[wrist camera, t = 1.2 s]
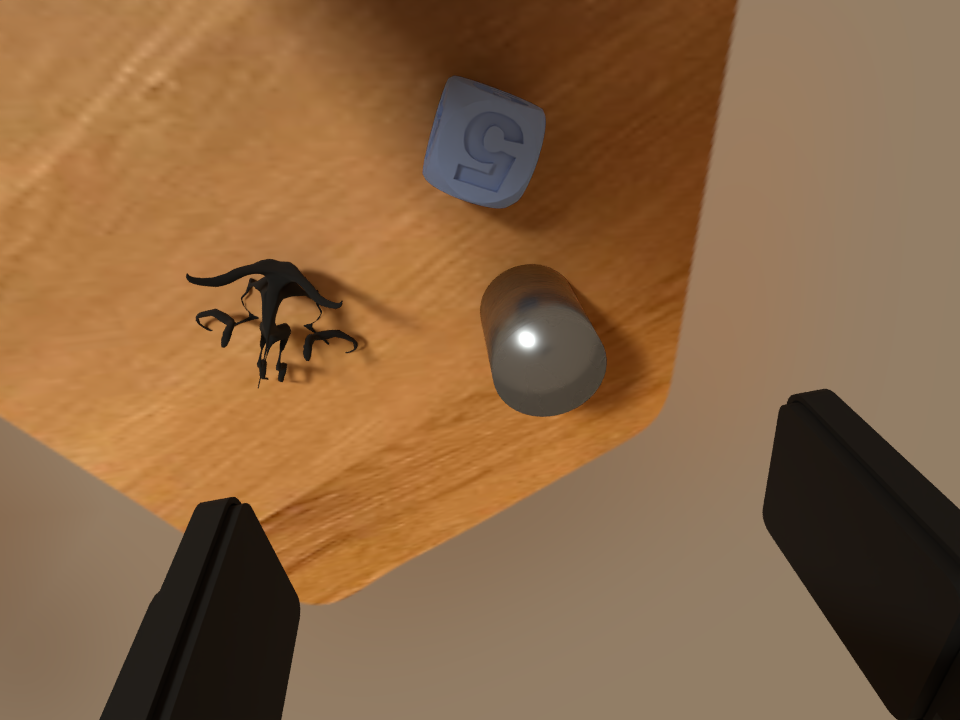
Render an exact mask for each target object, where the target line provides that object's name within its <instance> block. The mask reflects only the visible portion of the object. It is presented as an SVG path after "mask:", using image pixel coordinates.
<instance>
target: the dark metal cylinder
mask: <svg viewBox="0 0 960 720" xmlns="http://www.w3.org/2000/svg"><path fill="white" fill-rule="evenodd" d="M480 317H481V322H482V327H483V332H484V337H485V342H486V347H487V352H488V357H489V362H490V367H491V372H492V377H493V382H494V385H495V388H496V390H497V392H498V394H499V396H500V397H501V399H502V400H503V401H504V402H505V403H506V404H507V405H509V406H510V407H511V408H513V409H515V410H516V411H519V412H521V413H524V414H527V415H531V416H540V417H545V416H555V415H559V414H563V413H566V412H569V411H571V410H573V409H575V408H577V407H579V406H580V405H582V404H583V403H584V402H586V401H587V400H588V399H589V398H590V397H591V396H592V395H593V394H594V393H595V392H596V390H597V389H598V387H599V386H600V384H601V382H602V380H603V378H604V375H605V372H606V365H607V359H606V352H605V349H604V346H603V344H602V342H601V341H600V339H599V337H598V335H597V333H596V332H595V330H594V328H593V326H592V324H591V322H590V321H589V319H588V317H587V315H586V313H585V312H584V310H583V308H582V306H581V304H580V303H579V301H578V299H577V297H576V295H575V293H574V292H573V290H572V288H571V286H570V284H569V283H568V281H567V280H566V279H565V278H564V277H563V276H562V275H561V274H560V273H558V272H557V271H555V270H553V269H552V268H549V267H546V266H542V265H536V264H527V265H520V266H517V267H513V268H511V269H509V270H507V271H505V272H503V273H502V274H500V275H499V276H497V277H496V278H495V279H494V280H493V281H492V282H491V284H490V285H489V286H488V288H487V289H486V291H485V293H484V295H483V297H482V301H481V306H480Z"/></svg>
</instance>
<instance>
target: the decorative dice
mask: <svg viewBox="0 0 960 720" xmlns="http://www.w3.org/2000/svg"><path fill="white" fill-rule="evenodd" d="M545 125H546V119H545V114H544V112H543V109H541V108H540V107H538V106H536V105H534V104H532V103H530V102H528V101H526V100H524V99H521V98H519V97H517V96H514V95H512V94H509V93H507V92H504V91H502V90H499V89H496V88H494V87H491V86H488V85H485V84H482V83H479V82H476V81H473V80H470V79H467V78H463V77H459V76H452V77H450V78H449V79H448V80H447V82H446V85H445V87H444V90H443V93H442V96H441V99H440V102H439V105H438V109H437V112H436V116H435V119H434V123H433V126H432V130H431V134H430V138H429V142H428V146H427V150H426V155H425V160H424V165H423V175H424V177H425V179H426V180H427V181H428V182H429V183H430V184H431V185H433V186H434V187H436V188H437V189H439V190H441V191H443V192H445V193H447V194H449V195H451V196H454V197H456V198H459V199H461V200H464V201H467V202H470V203H473V204H477V205H481V206H485V207H490V208H506V207H508V206H510V205H512V204H514V203H516V202H517V201H518V200H519V199H520V198H521V196H522V195H523V193H524V191H525V190H526V188H527V186H528V184H529V182H530V179H531V177H532V175H533V172H534V170H535V167H536V164H537V161H538V158H539V155H540V151H541V147H542V143H543V139H544V133H545Z"/></svg>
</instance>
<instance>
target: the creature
mask: <svg viewBox="0 0 960 720" xmlns="http://www.w3.org/2000/svg"><path fill="white" fill-rule="evenodd" d="M250 274H262V275H264V276H265V277H263V278H262V279H260V280H259V281H256V282H254V280H253V279H252V278H250V279H249V284H248V287H247V290H246V292H245V294H244V295H243V296H242V297H241V300H242V298H243V297H244V296H245V295H246V294H247V293H248V292H249V290H250V288H251V287H253V286H254V287H255V289H257V290H259V291H260V293H261V297H262V322H261V323H260V331H261V340H260V347H261V352H260V356H259V360H258V362H257V366H258V367H259V371H260V379H266V380H268V378H265V375H266V367H267V362H266V358H267V355H268V352H269V350H270V347H271V346H272V345H273V344H274V343H275V342H277V341H279V340H280V353H279V358H278V362H277V365H276V370H278V371H279V375H278V381H280V382H283V380H284V376H285V374H286V370H287V364H286V363H284V362H283V363H280V358H281V352H282V351H283V350H284V348H285V345H286V343H287V341H288V338H289V336H290V334H291V329H290V327H289V325H288V324H287V323H283V324H280V325H277V326H276V323H275V318H276V314H277V311H278V307H279V305H280V303H281V302H282V300H283V299H285V298H288V297H292V296H307V297H308V298H310V299H312V300H314V301H315V302H316V305H317V307H318V308H319V310H320V312H321V314H322V310H321V309H320V307H319V305H321V306H324V307H328V308H334V309H337V308H340V307H341V306H342V301H341V302H340V303H335V302H331V301H329V300H327V299H325V298H324V297H322V296H321V295H320V294H319V293H318V290H316V289H315V288H314V287H313V285H312V284H311V283H310V282H309V281H308V280H307V279H306V278H305V277H304V276H303V275H302V273H301V272H300V271H299V269H298V268H297V267H296V266H295V265H293V264H292V263H291V262H280V261H277V260H273V259H266V260H261V261H259V262H256V263H254V264H251V265H247V266H243V267H239V268H236V269H234V270H232V271H230V272H228V273H226V274H223V275H220V276H217V277H213V278H195V277H191V276H189V275H188V273H187V274H186V278H187V280H188V281H189V282H191V283H193V284H196V285H201V286H211V287H219V286H224V285H227V284H230V283H232V282H234V281H236V280H238V279H240V278H242V277H244V276H247V275H250ZM297 283H298V284H299V285H300V286H301V287H302V288H303V289H304V290H305V291H304V290H303V289H302V288H301V287H300V286H299V285H298V284H297ZM242 304H243V306H244V303H243V301H242ZM244 307H245V306H244ZM245 309H246V308H245ZM246 310H247V309H246ZM247 311H248V310H247ZM248 312H249V311H248ZM321 314H320V316H321ZM207 316H213V317H215V318H217V319H218V320H219V321H221V322H222V323H224V324H226V325H227V326H226V328H225V330H224V331H223V336H222V338H221V346H222V347H223V348H225V347H226V346H227V344H228V343H229V341H230V338H231V335H232V331H233V328H234V326H236V325H238V324H240V323H243V322H246V321H250V320H253V319H258V317H256V316H254V315H253V314H251V313H250V312H249V317H248V318H247V319H245V320H243V321H240V322H237V323H236V322H235V321H234V319H233V318H231V317H230V316H229V315H228V314H226V313H224V312H222V311H220V310H218V309H212V310H208V311H203V312H200V313H199V314H197V316H196V321H197V323H198V324H199V325H200V326H201V327H203V328H205V329H206V330H209V331H213V330H210V329H208V328H206V327H204V326H203V325H202V324H200V321H199V318H202V317H207ZM320 316H319V317H318V319H319V318H320ZM318 319H317V320H318ZM317 320H316V321H317ZM313 323H314V322H313ZM313 323H311V324H306V325H303V326H304V327H306V328H308V329H309V330H311V331H312V332H314V334H309V335H308V336H307V337H306V340H305V344H304V346H303V347H304V351H303V355H304V358H305V360H306V361H309V360H310V358H311V352H312V344H313V342H314V340H324V341H325V342H326V343H327V344H328V345H329V342H328V341H327V340H326V339H329V338H333V337H338V338H343V339H346V340H348V341H351V342H353V344H354V349H353V350H352V351H350V352H353V351H354V350H356V348H357V347H358V344H357V341H356V340H355V339H354V338H352V337H350V336H349V335H347V334H345V333H344V332H342V331H340V330H327V331H321V332H316V331H315V330H314V329H313V328H312V324H313ZM265 343H266V348H265V354H264V359H265V360H264V359H262V360H261V354H262V350H263V348H264V346H265ZM267 348H268V350H267ZM266 352H267V355H266ZM350 352H346V353H350ZM265 355H266V358H265ZM260 379H259V384H260ZM259 384H258V388H259Z"/></svg>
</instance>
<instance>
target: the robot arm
mask: <svg viewBox="0 0 960 720" xmlns="http://www.w3.org/2000/svg"><path fill="white" fill-rule="evenodd" d="M763 519H764V523H765V526H766V528H767V530H768V531H769V533H770V535H771V536H772V538H773V539H774V540H775V542H776V544H777V545H778V547H779V548H780V550H781V551H782V553H783V554H784V556H785V557H786V559H787V560H788V562H789V563H790V565H791V566H792V568H793V569H794V571H795V572H796V573H797V575H798V576H799V578H800V579H801V581H802V582H803V584H804V585H805V587H806V588H807V590H808V591H809V593H810V594H811V596H812V597H813V599H814V600H815V602H816V603H817V605H818V606H819V608H820V609H821V611H822V612H823V614H824V615H825V617H826V618H827V620H828V621H829V623H830V624H831V626H832V627H833V629H834V630H835V631H836V633H837V635H838V636H839V638H840V639H841V641H842V642H843V644H844V645H845V646H846V648H847V650H848V651H849V652H850V654H851V656H852V657H853V658H854V660H855V662H856V663H857V665H858V666H859V668H860V669H861V671H862V672H863V673H864V675H865V677H866V678H867V680H868V681H869V682H870V684H871V685H872V687H873V688H874V690H875V691H876V693H877V694H878V696H879V697H880V699H881V700H882V702H883V703H884V705H885V706H886V708H887V709H888V710H889V712H890V713H891V714H892V715H893V716H894V717H895V718H896V719H897V720H960V509H959V508H958V507H957V506H955V505H954V504H953V503H952V502H951V501H950V500H949V499H948V498H947V497H946V496H945V495H944V494H942V492H940V491H939V490H938V489H937V488H936V487H935V486H934V485H933V484H932V483H931V482H930V481H929V480H927V479H926V478H925V477H924V476H923V475H922V474H921V473H920V472H919V471H918V470H917V469H916V468H915V467H914V466H913V465H911V464H910V463H909V462H908V461H907V460H906V459H905V458H904V457H903V456H902V455H901V454H900V453H899V452H897V451H896V450H895V449H894V448H893V447H892V446H891V445H890V444H889V443H888V442H887V441H885V440H884V439H883V438H882V437H881V436H880V435H879V434H878V433H877V432H876V431H875V430H874V429H873V428H872V427H871V426H870V425H868V424H867V423H866V422H865V421H864V420H863V419H862V418H861V417H860V416H859V415H858V414H856V413H855V412H854V411H853V410H852V409H851V408H850V407H849V406H848V405H847V404H846V403H845V402H844V401H842V399H840V398H839V397H838V396H837V395H836V394H835V393H834V392H832V391H831V390H828V389H821V390H816V391H810V392H804V393H799V394H795V395H791V396H790V397H789V399H788V401H787V404H786V405H782V406H781V407H780V410H779V414H778V419H777V426H776V432H775V438H774V444H773V450H772V456H771V462H770V468H769V475H768V480H767V486H766V492H765V499H764V505H763ZM299 619H300V603H299V598H298V596H297V594H296V592H295V590H294V588H293V586H292V584H291V582H290V580H289V578H288V576H287V574H286V572H285V571H284V569H283V567H282V565H281V563H280V561H279V559H278V557H277V555H276V553H275V551H274V549H273V548H272V546H271V544H270V542H269V540H268V538H267V536H266V534H265V532H264V530H263V528H262V526H261V525H260V523H259V521H258V519H257V517H256V515H255V513H254V511H253V509H252V507H251V506H250V505H249V504H248V503H243V504H241V502H240V501H239V500H238V499H237V498H236V497H229V498H224V499H218V500H213V501H207V502H202V503H200V504H198V505H197V507H196V508H195V510H194V512H193V515H192V517H191V519H190V522H189V524H188V526H187V529H186V531H185V533H184V536H183V538H182V540H181V543H180V545H179V548H178V550H177V552H176V555H175V557H174V559H173V561H172V564H171V566H170V568H169V571H168V573H167V575H166V578H165V580H164V582H163V585H162V587H161V589H160V591H159V592H158V593H157V594H156V595H155V596H154V598H153V600H152V601H151V603H150V605H149V607H148V609H147V611H146V614H145V616H144V619H143V621H142V623H141V625H140V628H139V630H138V632H137V634H136V637H135V639H134V642H133V644H132V646H131V648H130V651H129V653H128V655H127V658H126V660H125V662H124V664H123V667H122V669H121V671H120V674H119V676H118V678H117V680H116V683H115V685H114V688H113V690H112V692H111V694H110V697H109V699H108V701H107V703H106V706H105V708H104V710H103V713H102V715H101V717H100V720H281V718H282V712H283V707H284V701H285V696H286V690H287V685H288V679H289V674H290V668H291V663H292V658H293V652H294V647H295V641H296V636H297V630H298V625H299Z"/></svg>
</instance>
